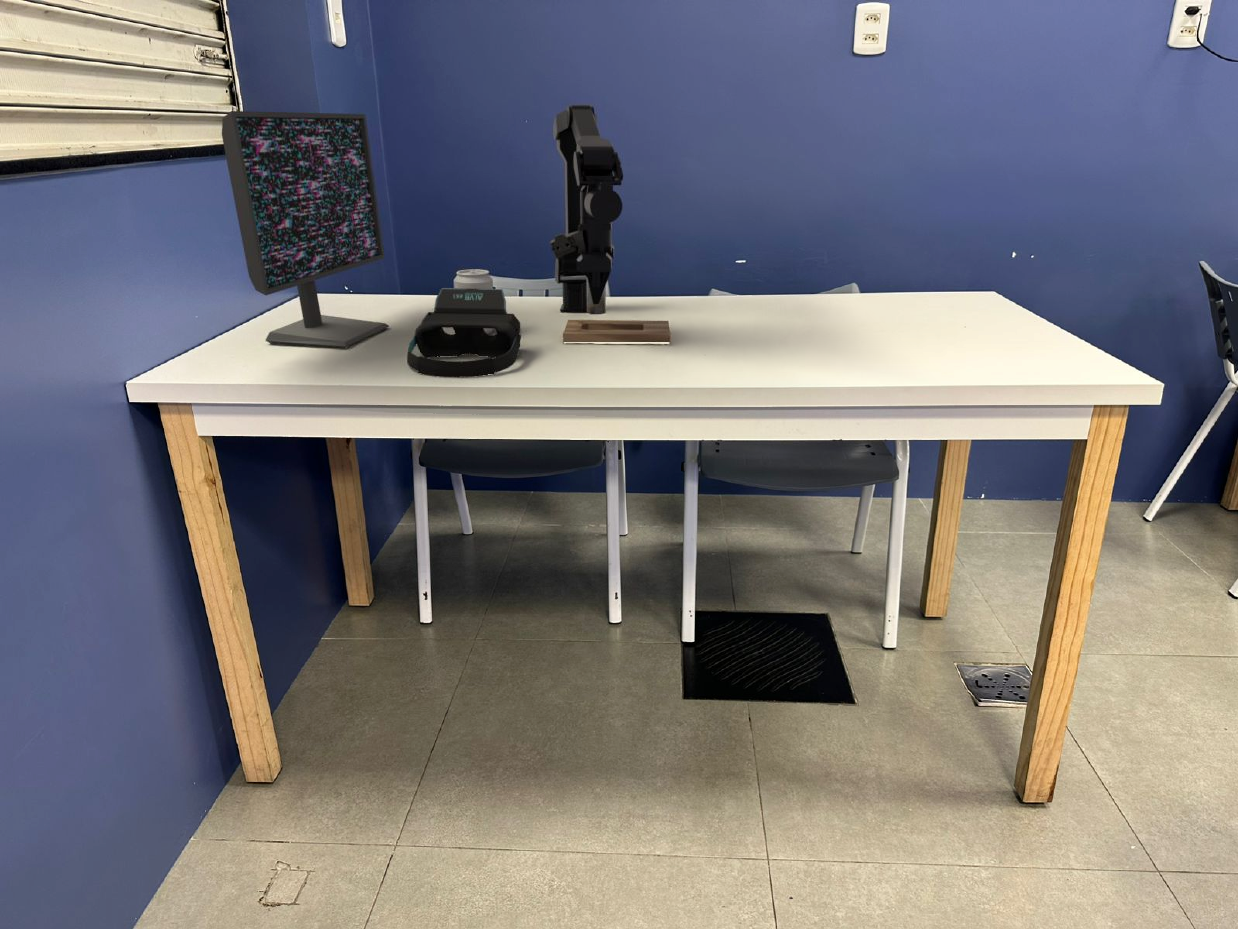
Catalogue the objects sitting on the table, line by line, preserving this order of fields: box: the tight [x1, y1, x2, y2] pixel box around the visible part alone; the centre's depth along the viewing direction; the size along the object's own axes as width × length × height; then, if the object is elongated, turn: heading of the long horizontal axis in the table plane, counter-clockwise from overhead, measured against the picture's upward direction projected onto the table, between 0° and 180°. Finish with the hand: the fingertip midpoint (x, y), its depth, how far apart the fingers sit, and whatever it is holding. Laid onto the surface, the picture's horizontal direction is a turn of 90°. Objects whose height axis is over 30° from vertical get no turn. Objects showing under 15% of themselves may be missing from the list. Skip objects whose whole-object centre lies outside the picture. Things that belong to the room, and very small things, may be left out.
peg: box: [586, 279, 607, 316], centre depth 163 cm, size 4×4×8 cm
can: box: [453, 268, 494, 335], centre depth 167 cm, size 8×8×12 cm
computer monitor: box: [221, 110, 390, 349], centre depth 158 cm, size 44×16×40 cm, turn 168°
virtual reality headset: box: [406, 287, 522, 378], centre depth 148 cm, size 19×22×10 cm
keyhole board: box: [562, 319, 671, 343], centre depth 166 cm, size 12×20×2 cm, turn 88°
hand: (596, 301), depth 164 cm, fingers closed on peg, 4 cm apart
